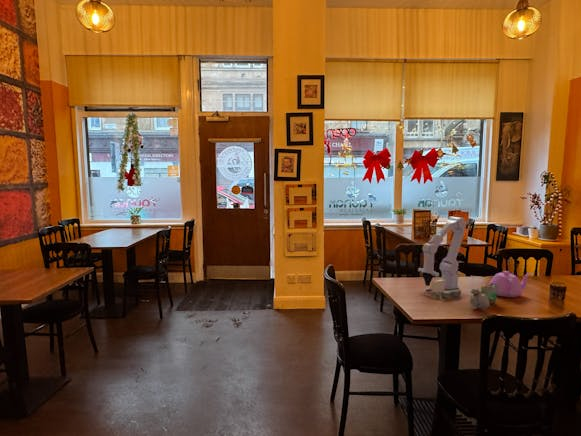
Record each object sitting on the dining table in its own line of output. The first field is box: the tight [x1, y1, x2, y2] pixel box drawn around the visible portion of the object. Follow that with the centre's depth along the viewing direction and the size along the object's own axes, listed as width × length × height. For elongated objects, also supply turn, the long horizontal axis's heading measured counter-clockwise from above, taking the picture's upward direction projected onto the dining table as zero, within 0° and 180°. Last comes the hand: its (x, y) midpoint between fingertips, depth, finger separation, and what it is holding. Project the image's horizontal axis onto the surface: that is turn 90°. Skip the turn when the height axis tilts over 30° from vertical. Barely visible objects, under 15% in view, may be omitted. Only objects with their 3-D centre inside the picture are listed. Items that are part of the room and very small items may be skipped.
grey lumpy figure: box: [469, 288, 491, 310], centre depth 196 cm, size 10×10×12 cm
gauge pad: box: [425, 279, 445, 293], centre depth 223 cm, size 14×2×7 cm, turn 117°
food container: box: [480, 283, 499, 306], centre depth 207 cm, size 12×6×10 cm, turn 129°
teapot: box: [488, 270, 532, 298], centre depth 223 cm, size 22×22×14 cm
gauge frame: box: [424, 288, 462, 302], centre depth 220 cm, size 16×14×4 cm
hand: (427, 285), depth 231 cm, fingers closed
